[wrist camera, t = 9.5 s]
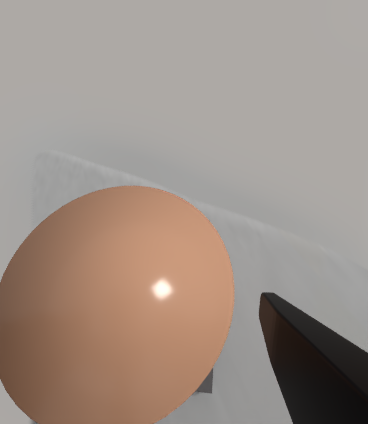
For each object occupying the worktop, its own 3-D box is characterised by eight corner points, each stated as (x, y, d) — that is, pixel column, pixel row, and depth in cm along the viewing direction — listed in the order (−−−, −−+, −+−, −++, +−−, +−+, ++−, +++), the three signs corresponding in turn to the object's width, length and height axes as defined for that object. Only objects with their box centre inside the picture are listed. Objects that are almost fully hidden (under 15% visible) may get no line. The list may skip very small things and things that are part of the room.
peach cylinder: (209, 369, 15) (260, 423, 4) (118, 378, 15) (-57, 454, 4) (199, 278, 18) (215, 179, 8) (123, 284, 18) (29, 192, 7)
